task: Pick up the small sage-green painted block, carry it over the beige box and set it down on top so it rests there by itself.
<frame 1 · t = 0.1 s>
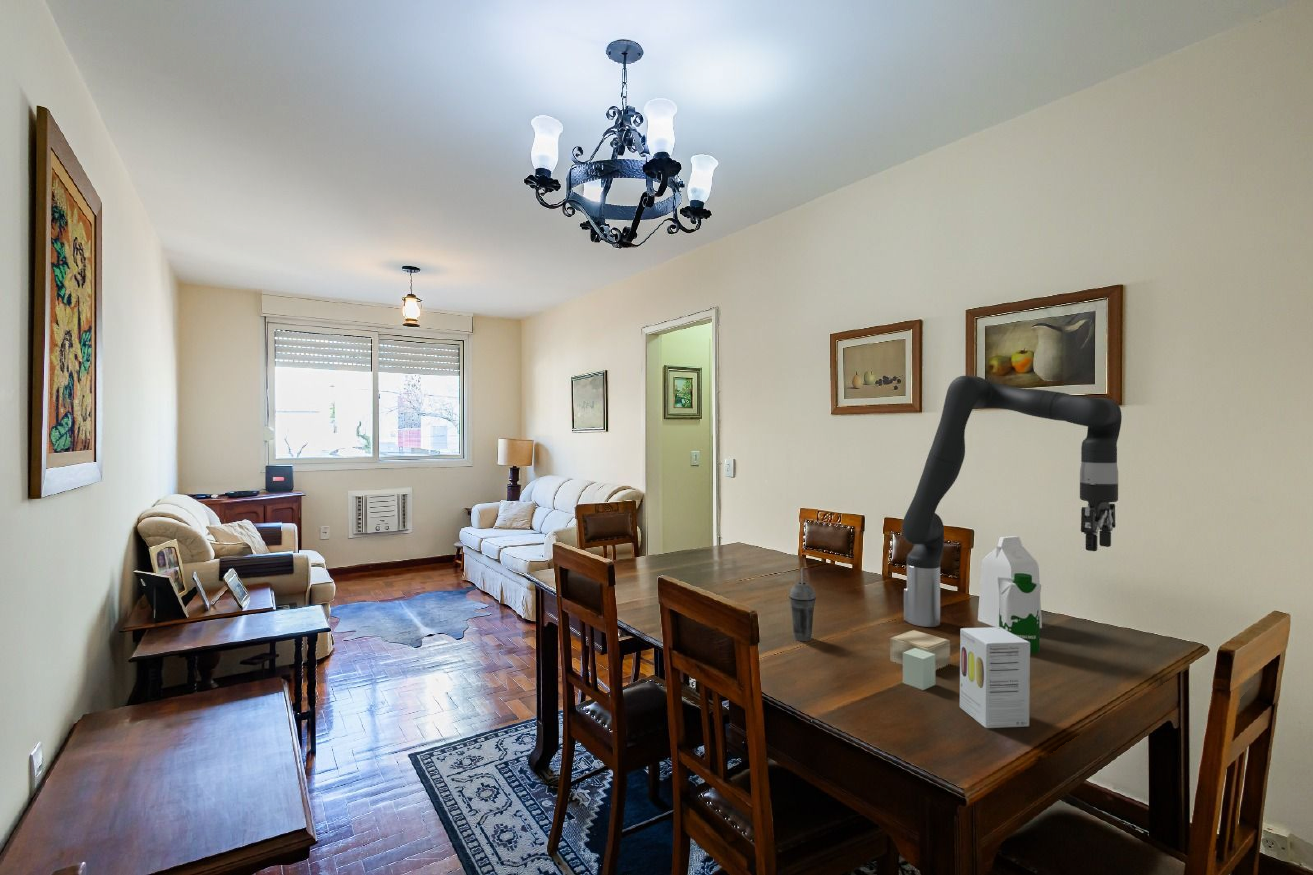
hand: (1098, 548, 148), 29 cm above the table, tool pointing down, fingers open, 8 cm apart
beige box: (919, 663, 154), on the table
beverage cup: (802, 639, 171), on the table
supplement box: (993, 717, 125), on the table
block: (919, 683, 141), on the table
milk carton: (1018, 649, 163), on the table
milk: (1009, 624, 183), on the table
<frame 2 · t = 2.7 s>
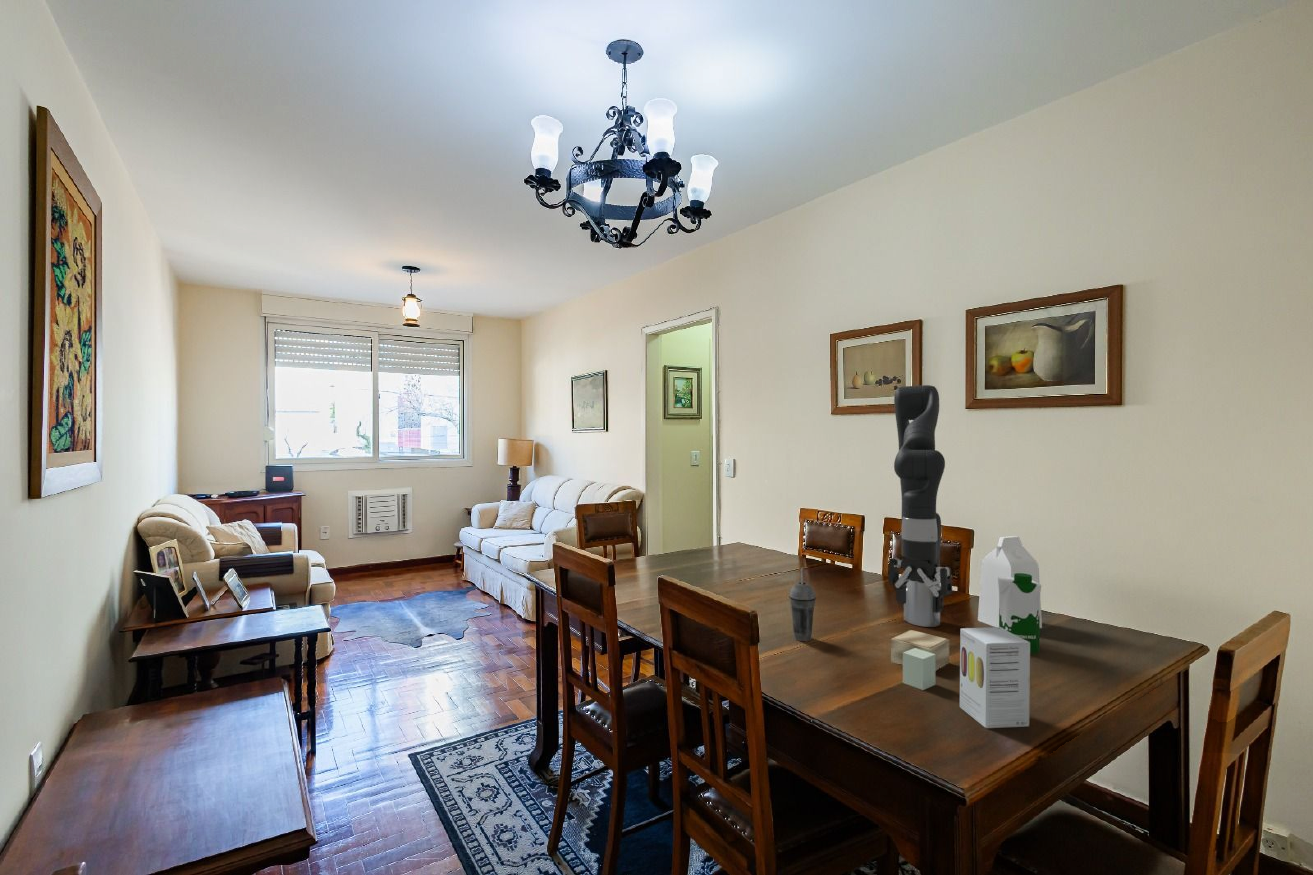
hand: (919, 608, 141), 17 cm above the table, tool pointing down, fingers open, 8 cm apart
nothing on the table moved.
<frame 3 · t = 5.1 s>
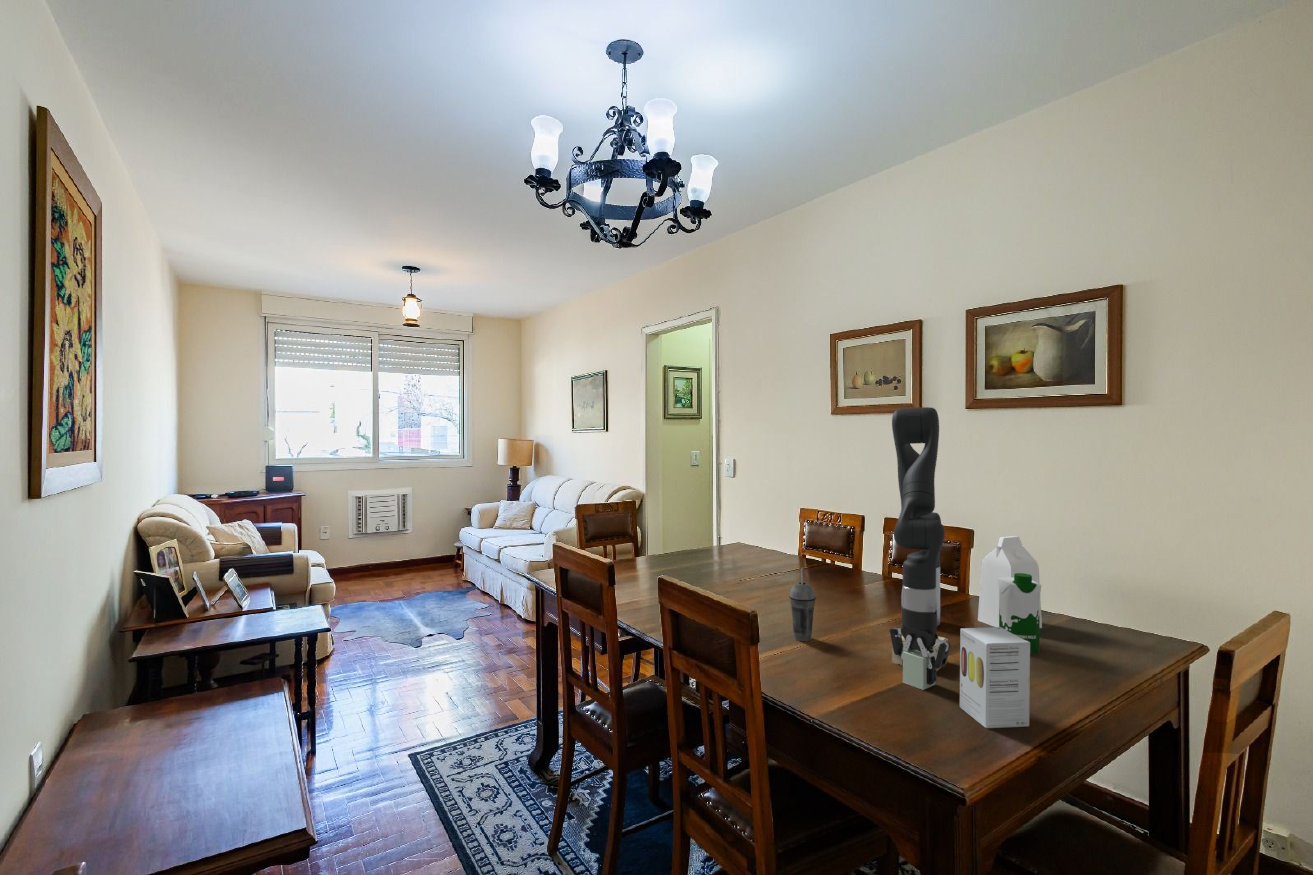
hand: (919, 679, 141), 1 cm above the table, tool pointing down, fingers closed on block, 5 cm apart
block: (918, 683, 141), on the table, touching gripper
everything else where it was.
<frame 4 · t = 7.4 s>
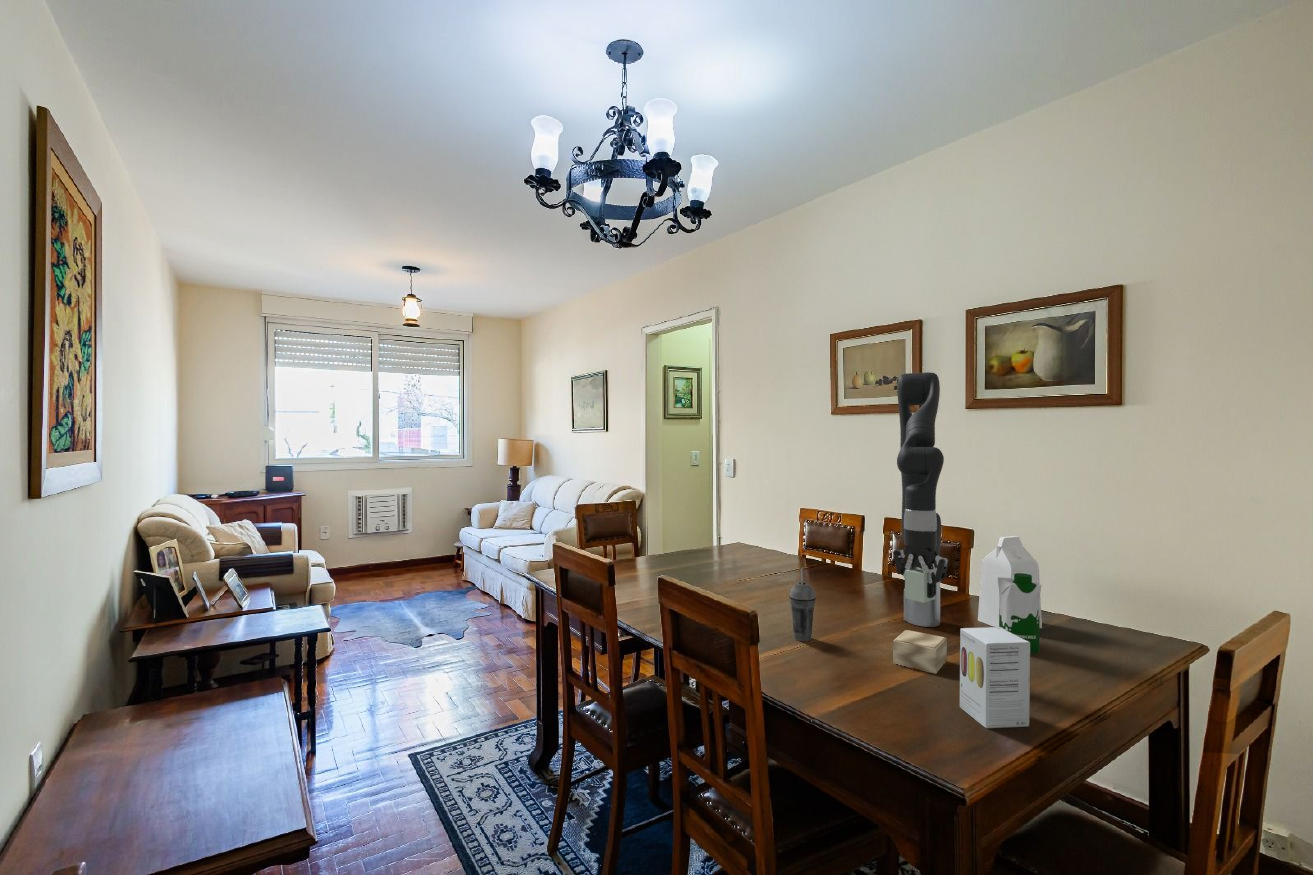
hand: (920, 594, 154), 17 cm above the table, tool pointing down, fingers closed on block, 5 cm apart
block: (920, 598, 154), point 16 cm above the table, touching gripper
everything else where it was.
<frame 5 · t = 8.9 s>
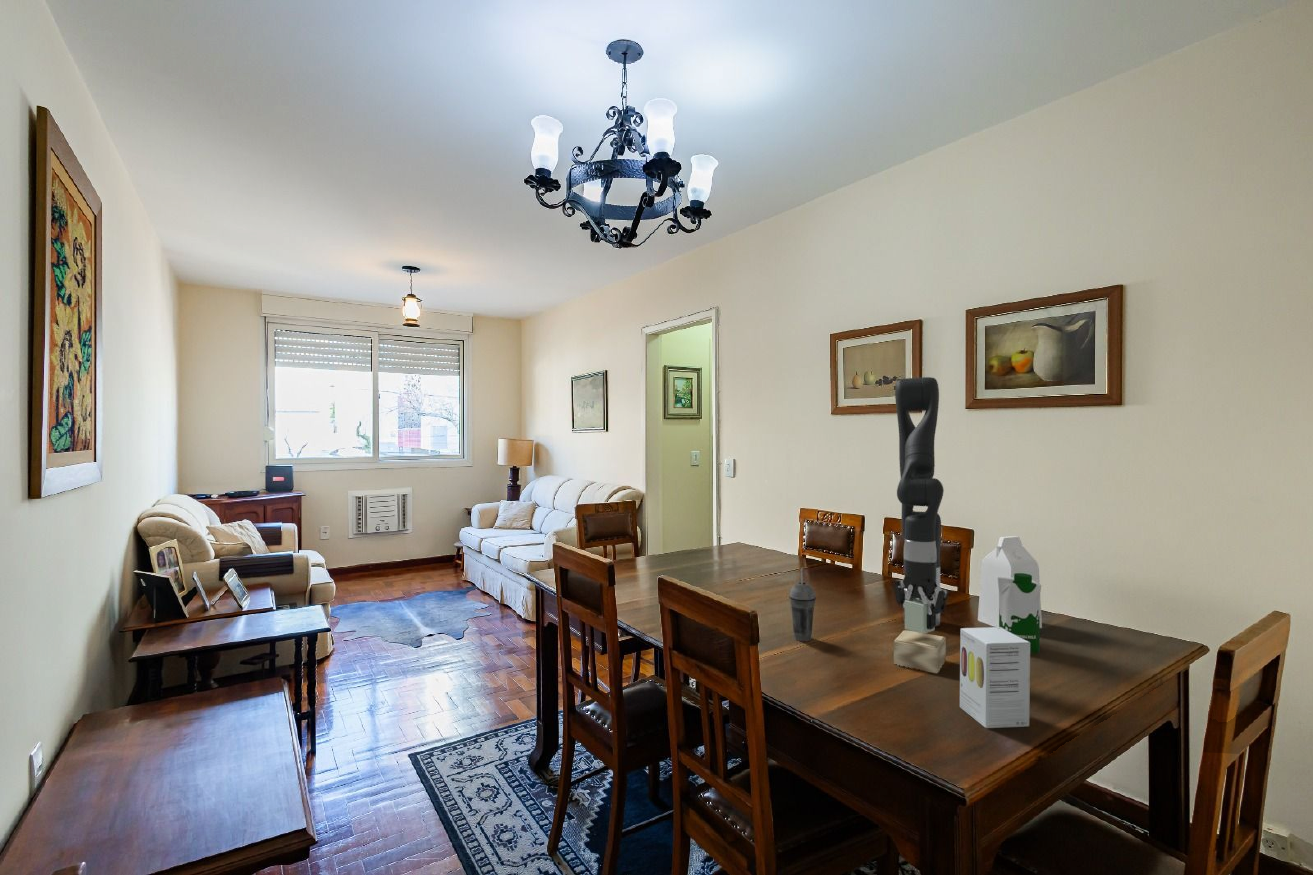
hand: (919, 625, 154), 9 cm above the table, tool pointing down, fingers closed on block, 5 cm apart
block: (919, 629, 154), point 8 cm above the table, touching gripper
when the fingers open (8 cm above the table, at t = 9.9 s): block drops 1 cm, point 6 cm above the table.
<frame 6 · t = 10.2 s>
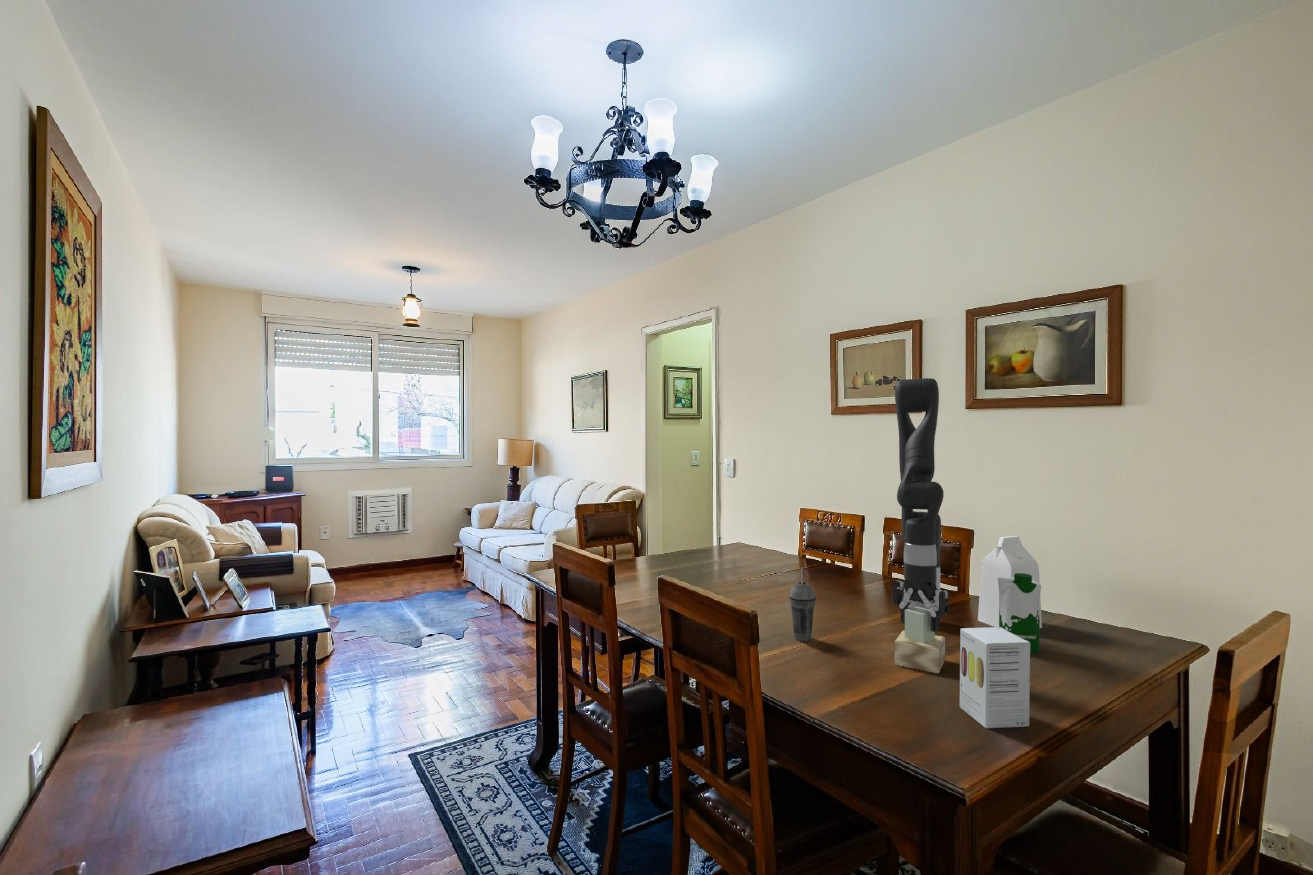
hand: (919, 627, 154), 9 cm above the table, tool pointing down, fingers open, 7 cm apart
block: (919, 638, 154), point 6 cm above the table
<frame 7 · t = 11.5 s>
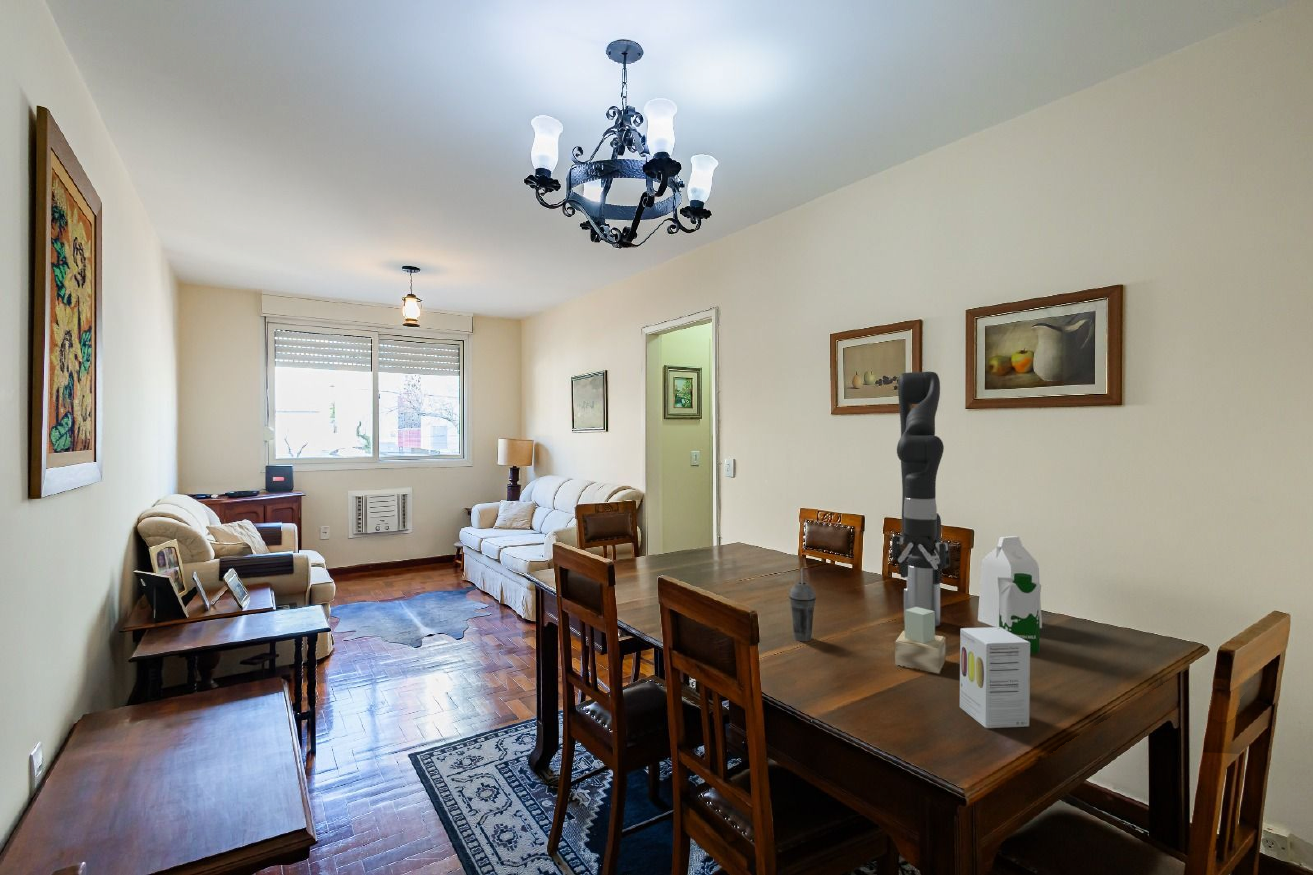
hand: (920, 580, 153), 20 cm above the table, tool pointing down, fingers open, 8 cm apart
nothing on the table moved.
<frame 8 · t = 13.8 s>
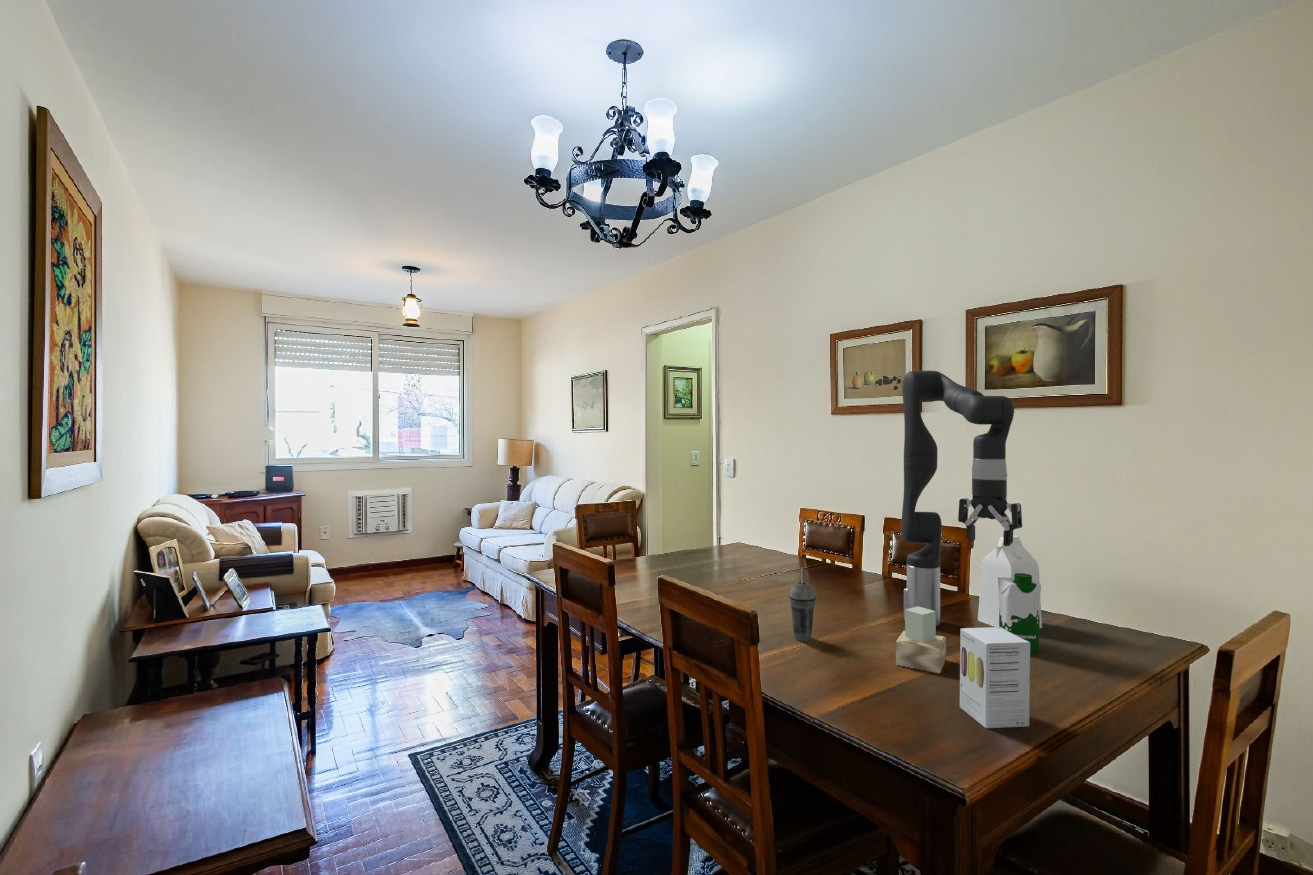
hand: (989, 543, 151), 30 cm above the table, tool pointing down, fingers open, 8 cm apart
nothing on the table moved.
at the end: block inside the target area on the beige box (0.1 cm from its centre), point 6.3 cm above the beige box's base; block tilted 0°; block touching nothing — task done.
